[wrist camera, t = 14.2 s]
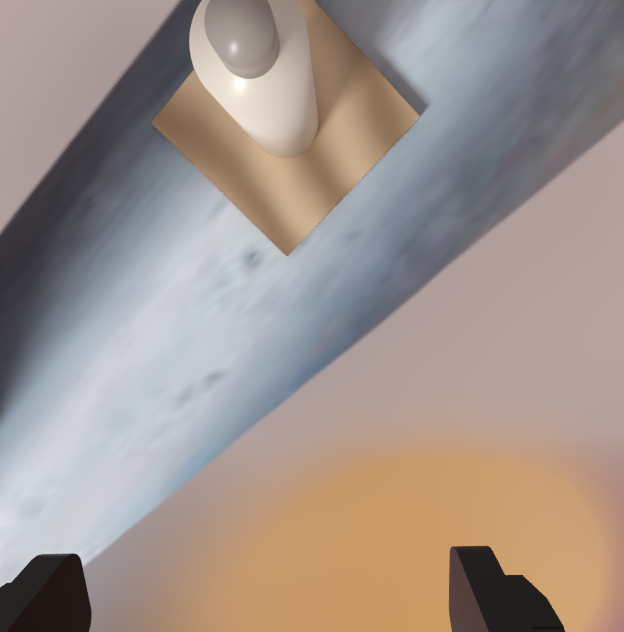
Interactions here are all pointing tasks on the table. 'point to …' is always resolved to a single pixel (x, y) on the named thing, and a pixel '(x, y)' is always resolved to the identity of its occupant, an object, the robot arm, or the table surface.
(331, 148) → the oak board
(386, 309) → the table surface
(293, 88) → the lotion bottle
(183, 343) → the table surface
